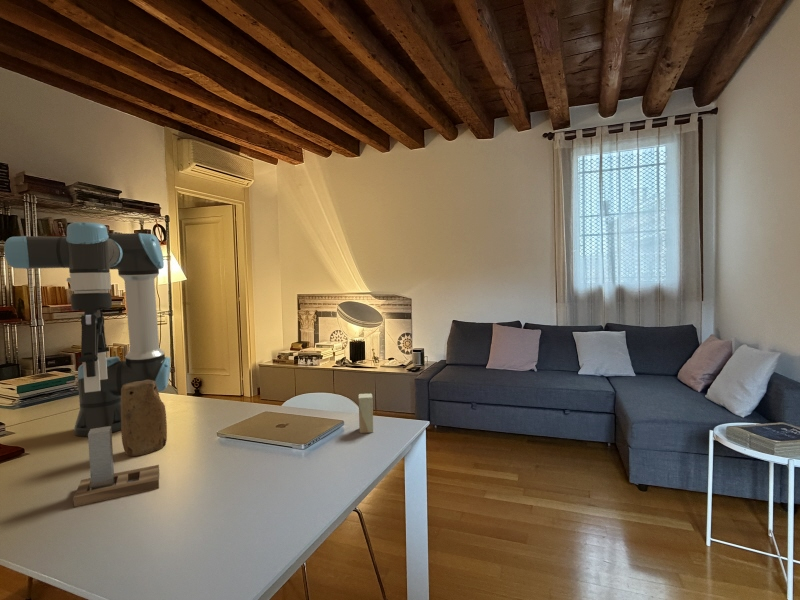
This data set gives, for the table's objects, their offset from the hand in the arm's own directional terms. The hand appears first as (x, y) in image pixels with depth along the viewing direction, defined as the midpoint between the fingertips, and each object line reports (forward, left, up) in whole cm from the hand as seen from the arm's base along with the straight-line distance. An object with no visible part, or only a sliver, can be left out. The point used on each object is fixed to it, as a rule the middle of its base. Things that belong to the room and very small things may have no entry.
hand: (96, 385), depth 100 cm
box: (-5, +68, -25) cm, 73 cm away
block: (-24, +8, -25) cm, 35 cm away
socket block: (0, +3, -25) cm, 25 cm away
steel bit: (0, 0, -24) cm, 24 cm away
